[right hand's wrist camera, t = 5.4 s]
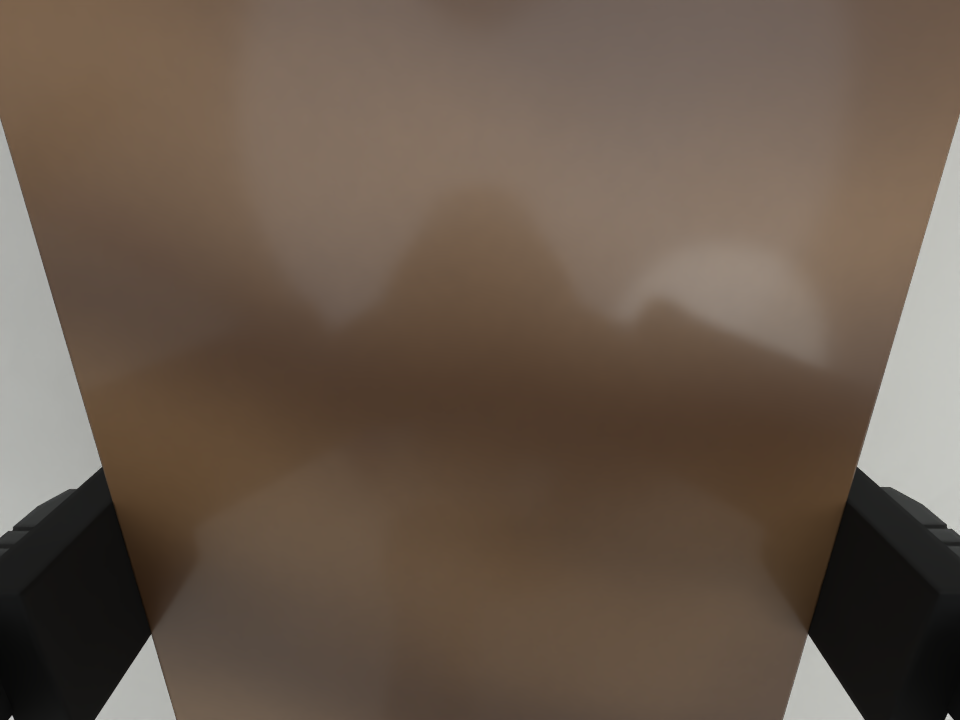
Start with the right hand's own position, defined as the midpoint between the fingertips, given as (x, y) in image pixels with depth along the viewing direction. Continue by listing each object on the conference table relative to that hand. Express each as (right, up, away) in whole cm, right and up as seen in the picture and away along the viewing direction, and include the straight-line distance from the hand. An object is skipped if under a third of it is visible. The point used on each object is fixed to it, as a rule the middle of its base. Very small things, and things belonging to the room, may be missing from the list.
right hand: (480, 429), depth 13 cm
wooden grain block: (0, +5, +2) cm, 6 cm away
